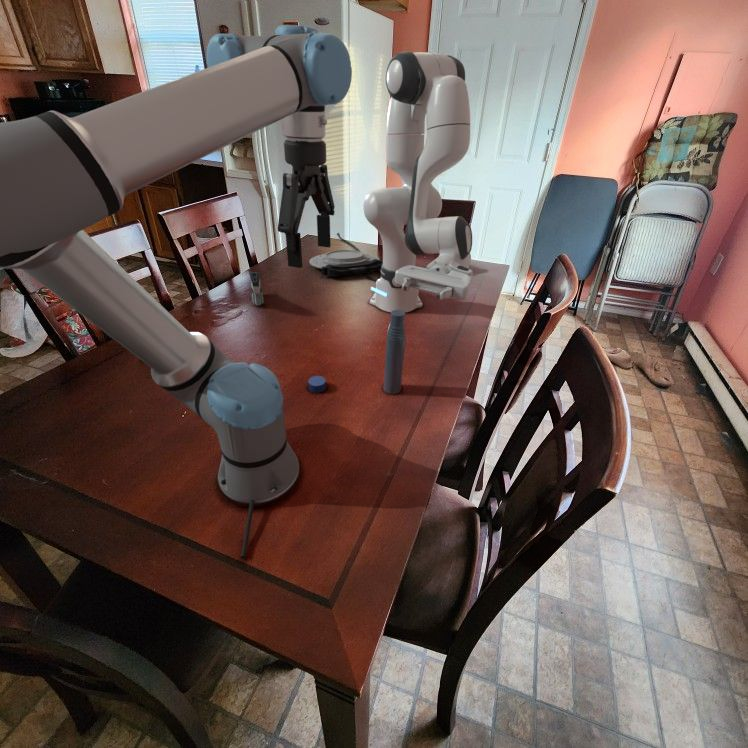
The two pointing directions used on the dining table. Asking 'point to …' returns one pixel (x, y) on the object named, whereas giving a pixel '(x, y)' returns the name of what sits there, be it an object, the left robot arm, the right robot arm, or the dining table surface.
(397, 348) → the bottle
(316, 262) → the brake disc
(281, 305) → the dining table surface
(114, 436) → the dining table surface
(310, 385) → the cap
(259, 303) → the toy gun
